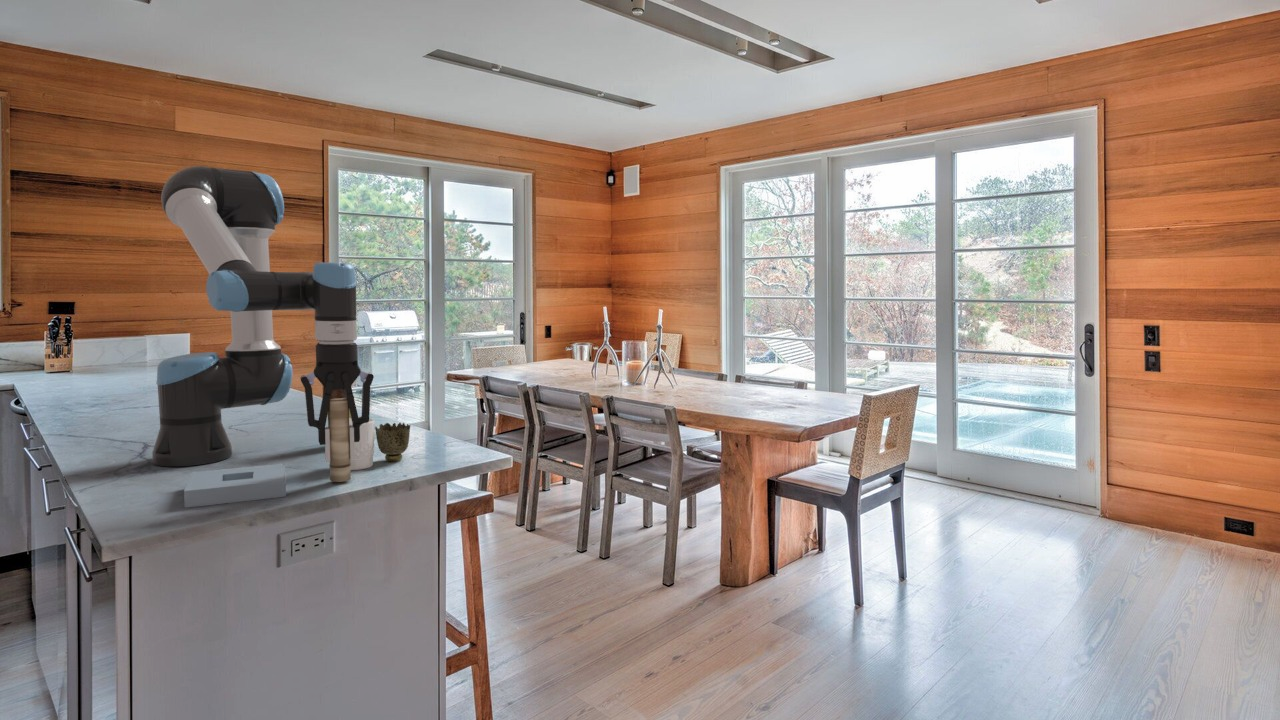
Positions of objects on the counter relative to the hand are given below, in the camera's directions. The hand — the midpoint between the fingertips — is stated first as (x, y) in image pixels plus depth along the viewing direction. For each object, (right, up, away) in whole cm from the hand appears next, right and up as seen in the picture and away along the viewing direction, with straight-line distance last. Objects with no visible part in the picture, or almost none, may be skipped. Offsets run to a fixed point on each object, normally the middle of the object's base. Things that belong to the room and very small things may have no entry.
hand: (339, 459), depth 143 cm
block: (-16, -5, -7) cm, 19 cm away
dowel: (0, -4, 0) cm, 4 cm away
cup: (+4, -3, +18) cm, 19 cm away
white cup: (-2, -4, +13) cm, 13 cm away
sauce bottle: (-13, -1, +32) cm, 34 cm away
